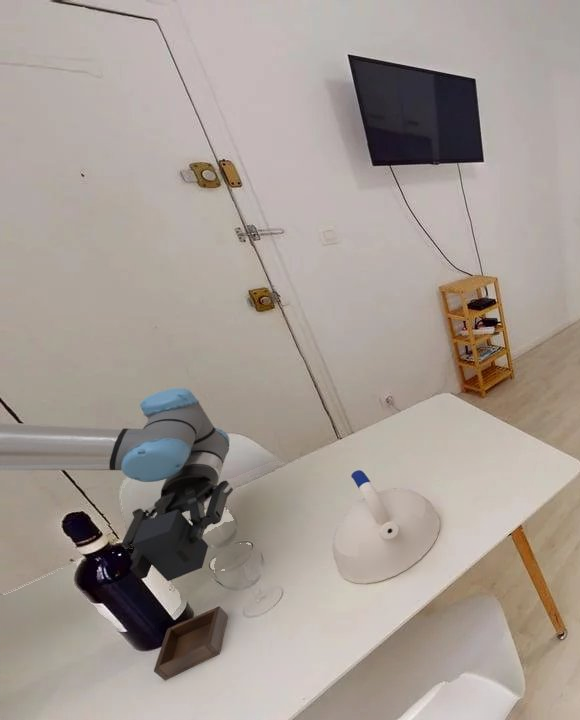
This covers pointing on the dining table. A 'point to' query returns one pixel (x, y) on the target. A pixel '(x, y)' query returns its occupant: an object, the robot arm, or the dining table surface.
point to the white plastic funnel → (383, 533)
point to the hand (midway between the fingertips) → (161, 564)
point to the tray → (191, 643)
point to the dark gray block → (168, 545)
